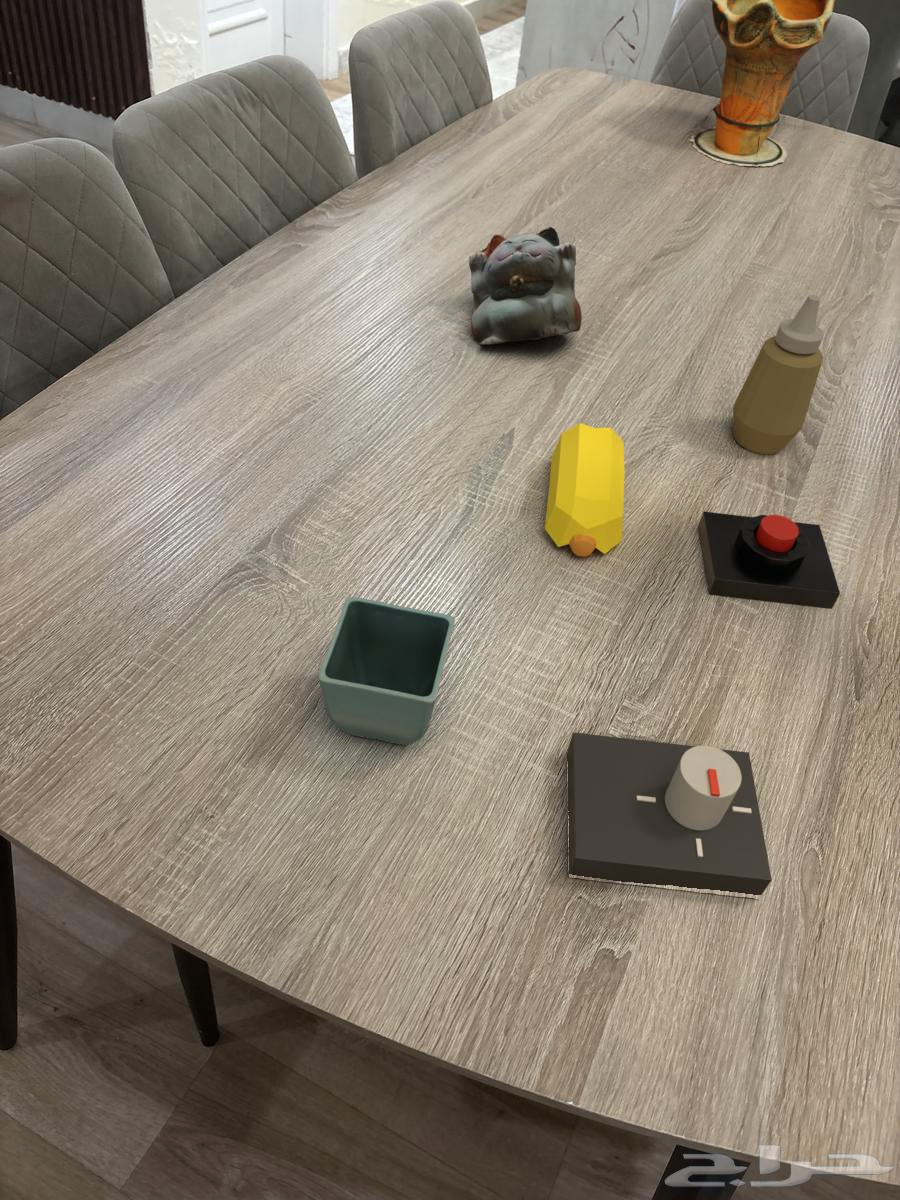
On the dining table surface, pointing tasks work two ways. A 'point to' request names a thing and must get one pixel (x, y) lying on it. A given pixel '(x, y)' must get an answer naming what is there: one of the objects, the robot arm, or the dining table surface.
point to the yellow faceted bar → (586, 490)
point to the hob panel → (656, 820)
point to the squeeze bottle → (780, 384)
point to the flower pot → (384, 669)
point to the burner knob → (702, 787)
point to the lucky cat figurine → (524, 288)
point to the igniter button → (777, 533)
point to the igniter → (765, 563)
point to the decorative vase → (758, 74)
